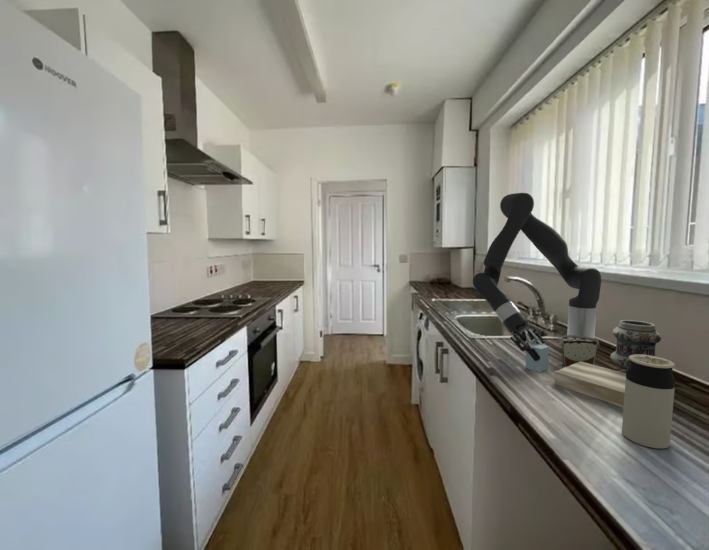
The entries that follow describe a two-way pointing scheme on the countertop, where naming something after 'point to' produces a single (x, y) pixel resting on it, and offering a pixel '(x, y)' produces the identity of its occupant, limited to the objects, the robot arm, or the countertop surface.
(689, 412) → the countertop surface
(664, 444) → the travel mug
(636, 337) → the apothecary jar
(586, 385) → the birch base
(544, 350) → the blue-grey block
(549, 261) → the robot arm
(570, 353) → the food container
